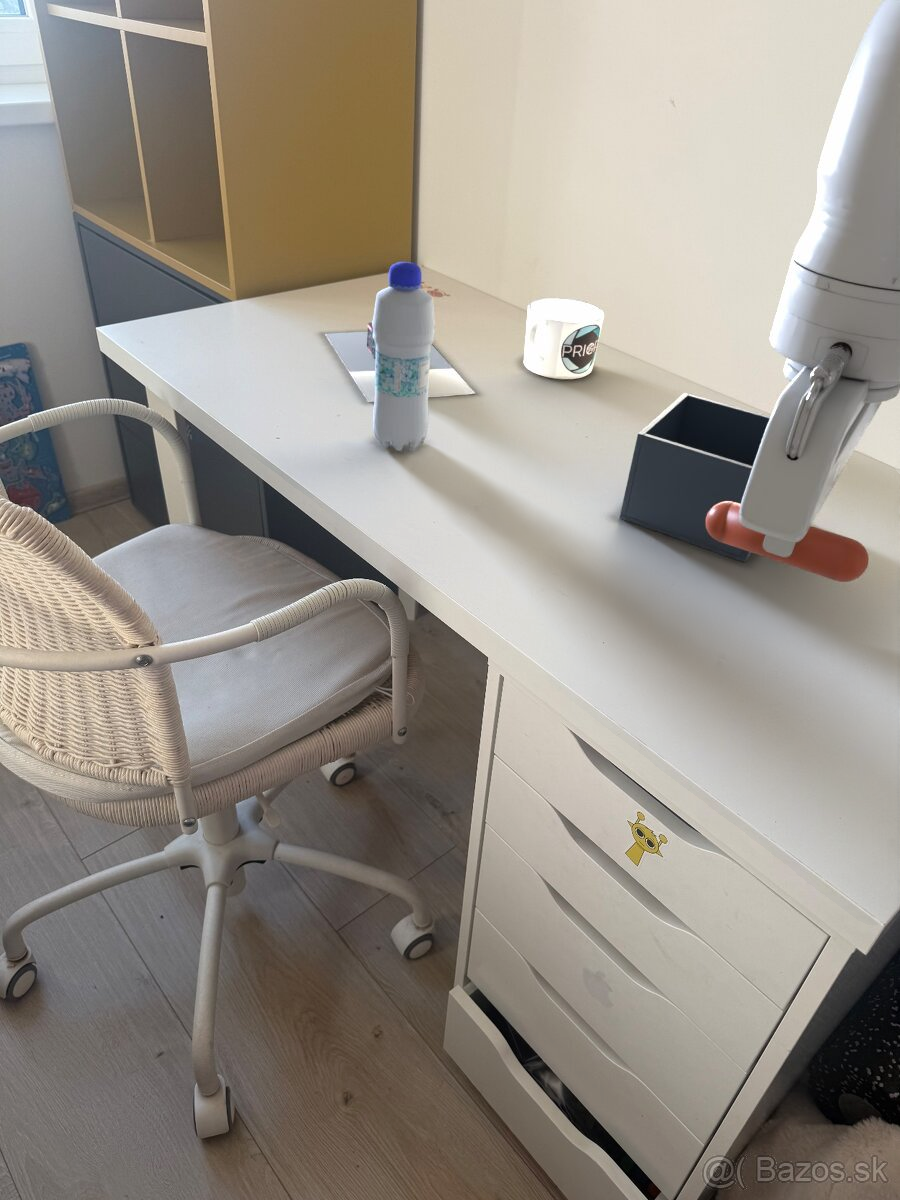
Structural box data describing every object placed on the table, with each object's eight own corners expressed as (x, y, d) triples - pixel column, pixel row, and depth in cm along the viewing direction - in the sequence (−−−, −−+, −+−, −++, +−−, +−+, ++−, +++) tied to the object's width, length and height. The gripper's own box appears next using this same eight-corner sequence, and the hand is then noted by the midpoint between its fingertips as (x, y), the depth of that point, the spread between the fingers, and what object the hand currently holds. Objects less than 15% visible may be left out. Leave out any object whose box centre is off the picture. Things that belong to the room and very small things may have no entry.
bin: (780, 508, 89) (809, 427, 84) (744, 562, 80) (774, 475, 74) (664, 471, 94) (684, 392, 89) (619, 518, 85) (637, 433, 80)
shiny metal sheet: (368, 402, 104) (368, 369, 102) (324, 334, 123) (324, 305, 120) (475, 393, 109) (478, 362, 106) (417, 329, 127) (419, 301, 125)
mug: (548, 347, 125) (556, 292, 120) (608, 368, 119) (618, 311, 115) (493, 369, 116) (499, 311, 111) (555, 392, 111) (564, 332, 106)
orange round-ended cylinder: (863, 575, 54) (879, 539, 52) (855, 595, 52) (870, 558, 50) (708, 524, 58) (718, 489, 56) (695, 541, 56) (705, 505, 54)
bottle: (427, 457, 93) (437, 274, 81) (368, 453, 93) (369, 269, 81) (430, 431, 99) (439, 256, 87) (373, 427, 99) (375, 251, 87)
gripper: (888, 394, 37) (795, 634, 45) (943, 295, 52) (865, 491, 60) (749, 361, 40) (685, 594, 48) (838, 276, 54) (778, 466, 62)
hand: (786, 536), depth 54 cm, fingers closed on orange round-ended cylinder, 3 cm apart
